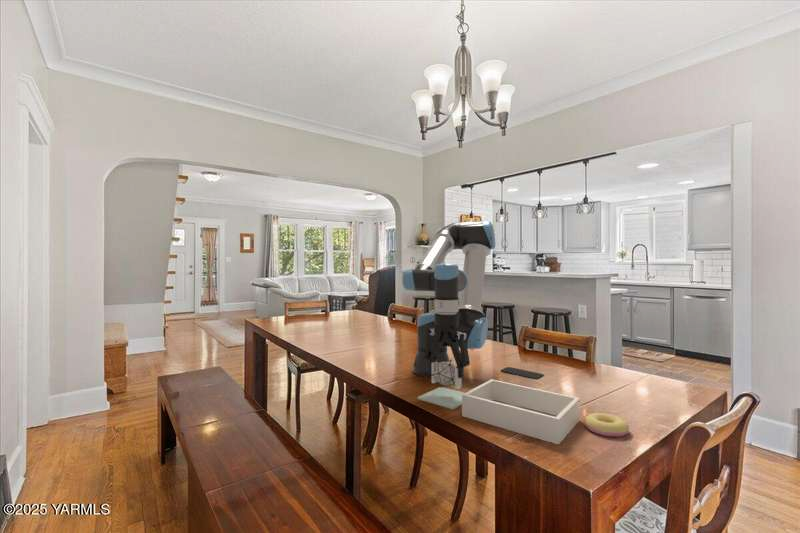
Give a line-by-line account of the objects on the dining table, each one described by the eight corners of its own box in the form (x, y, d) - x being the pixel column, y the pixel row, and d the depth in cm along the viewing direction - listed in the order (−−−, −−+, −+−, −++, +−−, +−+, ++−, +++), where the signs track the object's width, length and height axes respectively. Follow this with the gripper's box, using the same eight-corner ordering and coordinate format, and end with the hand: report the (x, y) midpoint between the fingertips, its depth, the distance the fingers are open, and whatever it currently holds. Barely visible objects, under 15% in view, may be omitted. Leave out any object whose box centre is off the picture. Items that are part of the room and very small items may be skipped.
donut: (582, 430, 102) (594, 441, 93) (578, 412, 103) (590, 421, 93) (621, 426, 101) (637, 437, 91) (617, 408, 101) (633, 417, 92)
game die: (451, 399, 118) (460, 379, 112) (425, 387, 119) (433, 367, 114) (457, 378, 125) (466, 358, 119) (433, 367, 127) (441, 347, 121)
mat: (417, 399, 119) (417, 397, 119) (440, 388, 129) (440, 386, 129) (453, 409, 110) (453, 407, 110) (474, 397, 120) (474, 395, 120)
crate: (462, 416, 106) (462, 394, 106) (491, 398, 120) (491, 379, 119) (558, 444, 89) (558, 419, 89) (579, 420, 103) (579, 398, 103)
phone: (536, 378, 138) (499, 370, 148) (536, 381, 138) (499, 372, 148) (544, 374, 144) (508, 366, 154) (544, 376, 144) (508, 368, 154)
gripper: (413, 311, 123) (412, 381, 123) (469, 317, 110) (469, 395, 110) (426, 309, 129) (426, 376, 129) (482, 314, 116) (481, 388, 116)
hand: (446, 384), depth 119 cm, fingers closed on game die, 8 cm apart
